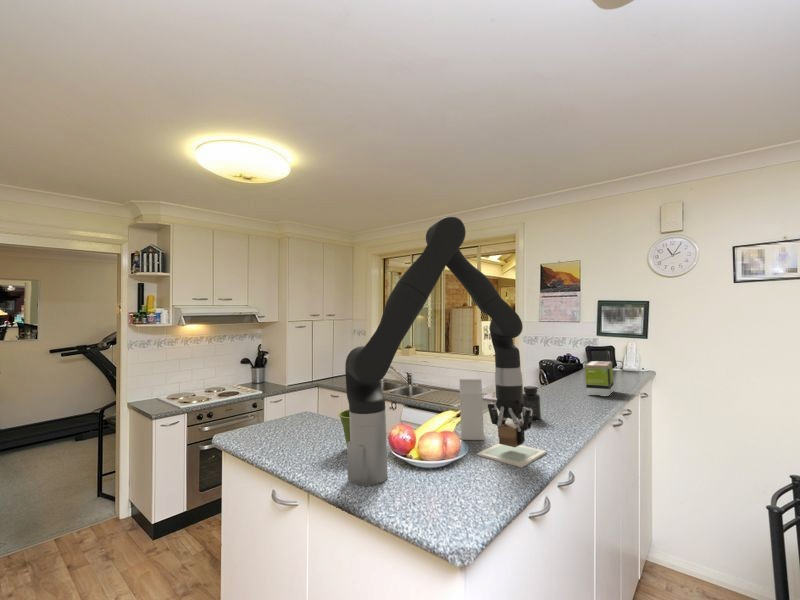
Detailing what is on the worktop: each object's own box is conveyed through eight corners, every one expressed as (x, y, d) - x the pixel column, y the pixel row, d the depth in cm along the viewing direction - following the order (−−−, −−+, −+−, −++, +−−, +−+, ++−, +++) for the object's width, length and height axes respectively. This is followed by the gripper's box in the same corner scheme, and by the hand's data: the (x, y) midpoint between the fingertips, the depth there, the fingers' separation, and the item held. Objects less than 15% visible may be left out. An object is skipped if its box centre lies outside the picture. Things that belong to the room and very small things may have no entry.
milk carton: (483, 440, 127) (481, 381, 128) (461, 440, 128) (459, 381, 129) (483, 434, 134) (481, 377, 135) (462, 433, 135) (460, 377, 136)
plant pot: (343, 443, 129) (342, 408, 130) (379, 442, 129) (378, 407, 130) (336, 456, 118) (335, 417, 118) (376, 455, 117) (374, 416, 118)
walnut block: (515, 447, 111) (514, 429, 111) (499, 443, 114) (498, 426, 114) (524, 443, 114) (523, 425, 114) (508, 439, 118) (507, 422, 118)
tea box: (592, 390, 200) (590, 360, 201) (614, 391, 194) (612, 361, 195) (586, 395, 188) (584, 364, 189) (609, 397, 182) (608, 365, 183)
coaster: (521, 467, 104) (521, 464, 104) (477, 455, 114) (477, 452, 114) (546, 453, 114) (546, 450, 114) (503, 443, 124) (503, 440, 124)
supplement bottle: (545, 419, 149) (543, 387, 150) (533, 422, 146) (532, 389, 146) (530, 415, 155) (528, 384, 155) (518, 418, 151) (517, 387, 152)
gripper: (480, 382, 117) (483, 440, 117) (524, 387, 107) (528, 451, 106) (494, 378, 123) (497, 434, 122) (538, 383, 112) (541, 443, 112)
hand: (511, 441), depth 114 cm, fingers closed on walnut block, 5 cm apart
